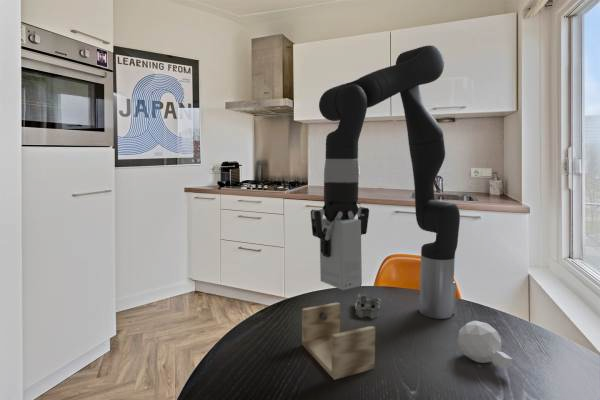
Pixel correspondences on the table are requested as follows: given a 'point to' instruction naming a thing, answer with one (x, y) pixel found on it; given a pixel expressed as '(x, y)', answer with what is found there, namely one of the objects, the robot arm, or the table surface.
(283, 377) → the table surface
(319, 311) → the holder
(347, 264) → the skincare box
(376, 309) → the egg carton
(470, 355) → the perfume bottle
